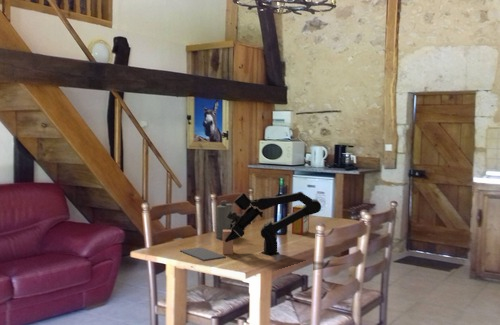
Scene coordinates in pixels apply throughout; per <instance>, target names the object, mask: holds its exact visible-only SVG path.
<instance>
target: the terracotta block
mask: <svg viewBox="0 0 500 325" xmlns="http://www.w3.org/2000/svg"><path fill="white" fill-rule="evenodd" d="M230 233H231V230H223V239H222V255H234V239H233V240H231V241H228V242H225V239H226V238H227V237H228V235H229V234H230Z"/></svg>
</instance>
